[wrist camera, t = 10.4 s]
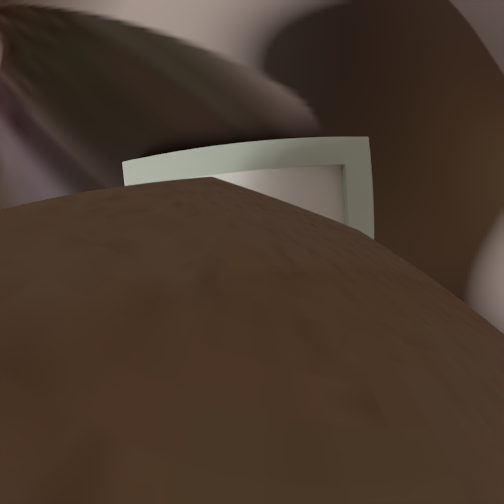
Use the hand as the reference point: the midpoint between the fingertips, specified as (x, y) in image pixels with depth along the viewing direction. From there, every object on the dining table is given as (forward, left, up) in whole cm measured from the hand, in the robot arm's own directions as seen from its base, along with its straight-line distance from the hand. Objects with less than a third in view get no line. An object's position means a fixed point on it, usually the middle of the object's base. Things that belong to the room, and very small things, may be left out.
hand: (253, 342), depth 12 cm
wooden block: (0, 0, -7) cm, 7 cm away
